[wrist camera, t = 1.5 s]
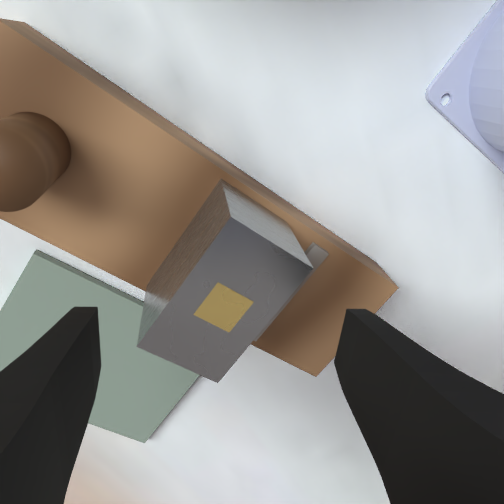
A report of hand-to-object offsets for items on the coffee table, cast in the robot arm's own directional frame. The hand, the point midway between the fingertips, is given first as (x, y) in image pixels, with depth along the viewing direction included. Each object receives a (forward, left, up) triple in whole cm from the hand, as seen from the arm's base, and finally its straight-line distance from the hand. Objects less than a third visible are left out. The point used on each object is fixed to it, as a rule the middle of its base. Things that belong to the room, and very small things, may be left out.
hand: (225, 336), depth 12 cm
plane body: (+1, 0, -8) cm, 8 cm away
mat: (+1, +9, -8) cm, 12 cm away
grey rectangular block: (0, 0, -5) cm, 5 cm away
